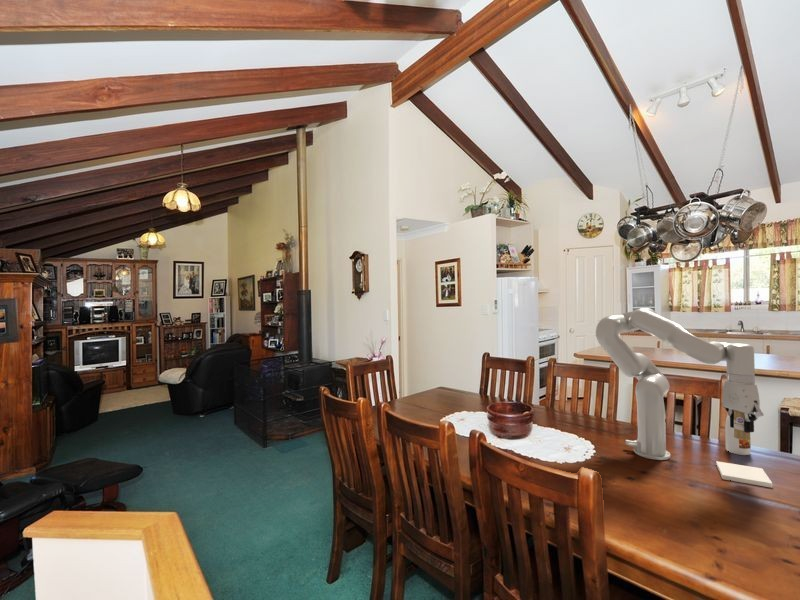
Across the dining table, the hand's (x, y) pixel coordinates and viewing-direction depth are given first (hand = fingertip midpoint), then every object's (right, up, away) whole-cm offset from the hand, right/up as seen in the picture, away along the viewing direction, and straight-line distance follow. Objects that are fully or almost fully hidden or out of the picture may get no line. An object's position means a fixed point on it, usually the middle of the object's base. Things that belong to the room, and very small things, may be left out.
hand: (741, 429), depth 138 cm
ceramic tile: (0, -17, 0) cm, 17 cm away
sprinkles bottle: (0, -4, 0) cm, 4 cm away
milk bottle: (+17, -17, +21) cm, 31 cm away
